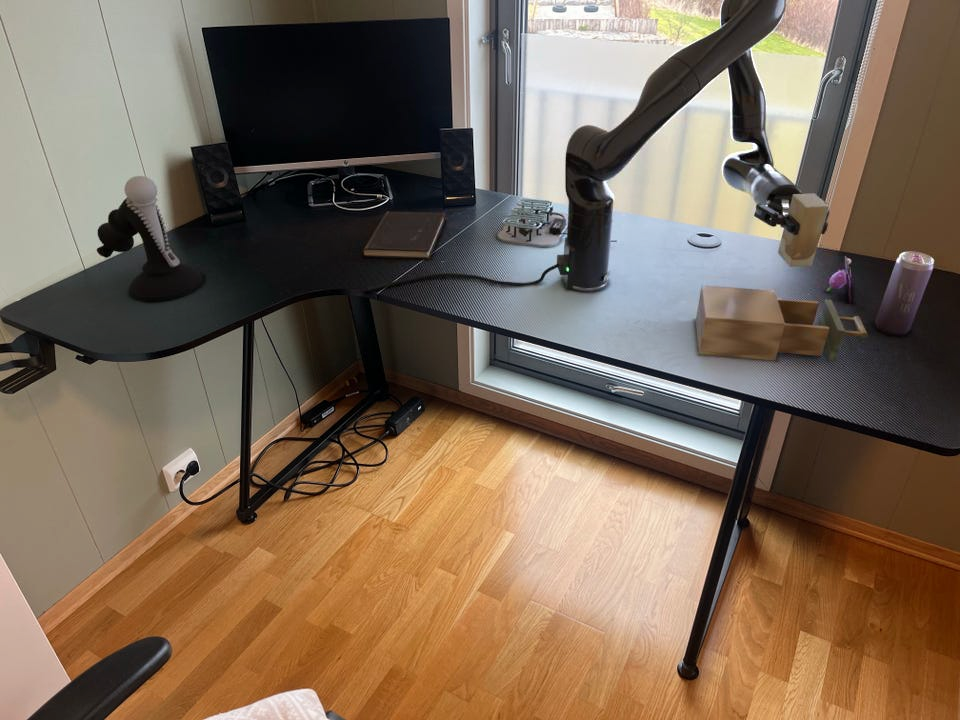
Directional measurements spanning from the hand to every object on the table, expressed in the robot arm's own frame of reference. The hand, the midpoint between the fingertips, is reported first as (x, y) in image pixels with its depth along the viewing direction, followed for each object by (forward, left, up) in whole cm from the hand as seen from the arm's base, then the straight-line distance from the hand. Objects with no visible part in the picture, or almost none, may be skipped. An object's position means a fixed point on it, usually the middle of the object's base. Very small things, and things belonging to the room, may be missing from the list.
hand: (810, 229), depth 127 cm
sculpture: (-133, +31, -20) cm, 138 cm away
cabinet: (-13, -5, -20) cm, 24 cm away
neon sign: (-37, +49, -20) cm, 64 cm away
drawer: (0, -9, -19) cm, 21 cm away
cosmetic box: (0, +3, -8) cm, 8 cm away
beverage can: (+19, -4, -20) cm, 28 cm away
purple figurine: (+16, +11, -20) cm, 28 cm away
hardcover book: (-76, +49, -20) cm, 92 cm away
